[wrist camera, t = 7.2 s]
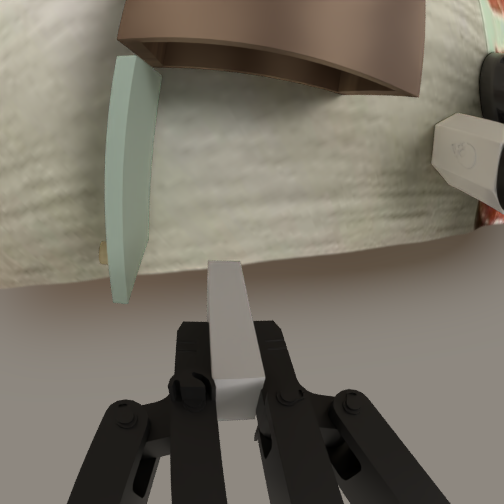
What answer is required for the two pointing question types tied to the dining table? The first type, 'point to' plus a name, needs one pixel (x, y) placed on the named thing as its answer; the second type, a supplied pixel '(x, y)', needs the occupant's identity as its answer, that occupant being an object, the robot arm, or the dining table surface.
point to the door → (128, 171)
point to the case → (286, 40)
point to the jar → (471, 157)
